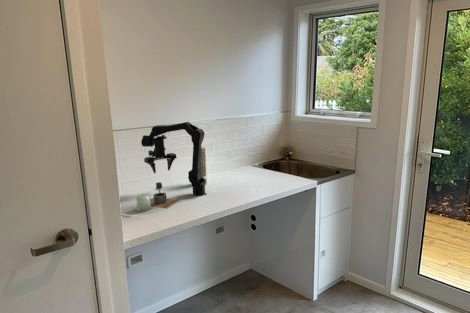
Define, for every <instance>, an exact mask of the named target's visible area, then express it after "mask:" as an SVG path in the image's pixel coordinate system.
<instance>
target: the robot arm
mask: <svg viewBox="0 0 470 313" xmlns="http://www.w3.org/2000/svg"><path fill="white" fill-rule="evenodd" d="M150 130H151V131H150V132H149V134H148V135H147V134H145V135H142V138H141V141H140V142H141V143H140V144H141V146H142V147H145V148H147V147H151V148H153V147H154V148H153V150H152V149H150V150H148V151H147V152H148V153H147V154H148V156H146V157H144V161H143V162H144V163H146V164H148V165H149V166H150V168H151V169H152V172H153V173H154V174H156V172H157V170H156V163H155V161H156V162H157V161H160V160H165V159H166V162H167V170H168V171H170V170H171V167H172V165H173V162H174V161H175V160H176V159H177V154H176V153H174V152H169V153H166V147H165V140H166V139H168V137H167V136H166V135H165V134H166V133H171V132H176V131H181V130H185V132H186V133H187V134H188V135H189V136H190V137H191V142H192V145H193V146H192V164H191V170H189V171H188V173H187V174H188V175H187V176H188V177H187V179H188V182H189V183H190V184H191V186H192V195H194V196H196V197H197V196H198V197H199V196H200V197H201V196H207V193H206V184H205V182H206V180H205V179H204V178H203V177H202V173H201V170H200V157H201V146H202V143H203V141H204V138H205V131H204V130H203V129H202V128H199V127H197V126H196V125H194V124H192V123H191V122H189V121H185V122H182V123H181V122H180V123H175V124H169V125H166V124H158V125H155V126H152V127H151V129H150ZM204 184H205V185H204Z"/></svg>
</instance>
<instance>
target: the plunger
mask: <svg viewBox="0 0 470 313" xmlns="http://www.w3.org/2000/svg"><path fill="white" fill-rule="evenodd" d="M154 189H155V190H156V191H158V193H159V195H161V193H162V192H161V191H162V190H164V187H163V183H162V182H160V181H158V182H156V183H155V188H154Z"/></svg>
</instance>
